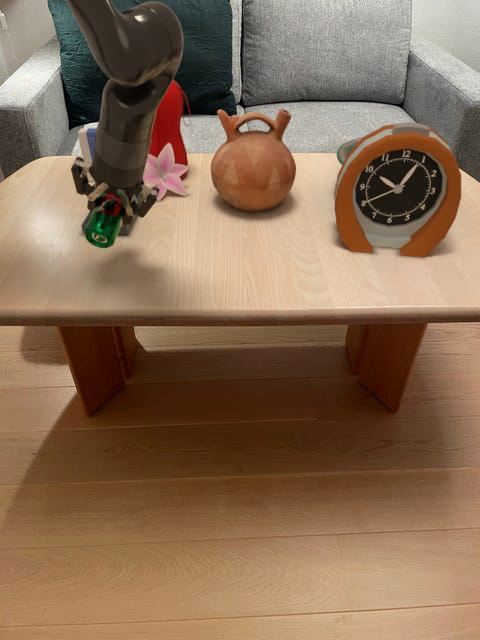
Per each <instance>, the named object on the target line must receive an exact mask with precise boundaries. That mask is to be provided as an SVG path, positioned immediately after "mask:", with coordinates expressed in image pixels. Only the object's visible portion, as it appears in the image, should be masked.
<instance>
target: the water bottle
mask: <svg viewBox="0 0 480 640" xmlns="http://www.w3.org/2000/svg"><path fill="white" fill-rule="evenodd" d="M179 84H180V83H178V82H176V80H175V79H173V81H172V83H171V85H170V87H169V88H168V90H167V92H166V94H165V96H164V98H163V99H162V101H161V102H160V104H159V106H158V109H157V113H156V118H155V122H154V126H153V130H152V137H151V146H150V150H149V154H150V155H152V156H154V157H156V158H158V156H159V154H160V153H161V151H162V150H163V148H164V147H165V146H166V145H167V144H168V143H170V144H171V146H172V149H173V153H174V159H175V164H181V165H185V166H187V167H188V168H189V165H188V164H189V162H188V153H187V150H186V149H187V148H186V146H185V142H184V138H183V135H182V131H181V121H182V122H183V124H184V126H186V127H190V125H191V124H192V114H191V111H190V106H189V102H188V99H187V95H186V94H185V91H184V90H182V88H181V86H180V85H179ZM183 95H184V98H185V101H186V104H187V107H188V112H189V117H190V121H189V122H190V123H189V124H186V123H185V120H184V118H185V117H182V115H183V114H184V99H183ZM182 119H183V120H182ZM187 171H188V170H187ZM187 171H185V172H184V173H183V174H182V175H181V176H179V177H180V179H181V180H182V179H183V178H184V177H185V176H186V175H187Z"/></svg>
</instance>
